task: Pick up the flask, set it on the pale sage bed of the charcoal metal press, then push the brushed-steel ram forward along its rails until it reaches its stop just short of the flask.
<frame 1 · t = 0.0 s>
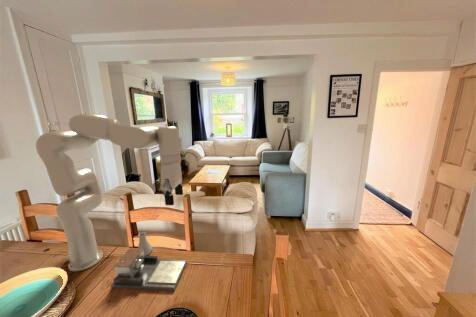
hand: (174, 199, 78), 31 cm above the table, tool pointing down, fingers open, 9 cm apart
press base: (151, 274, 80), on the table
flask: (144, 252, 94), on the table
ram: (132, 263, 79), point 5 cm above the table, slide at 0.0 cm
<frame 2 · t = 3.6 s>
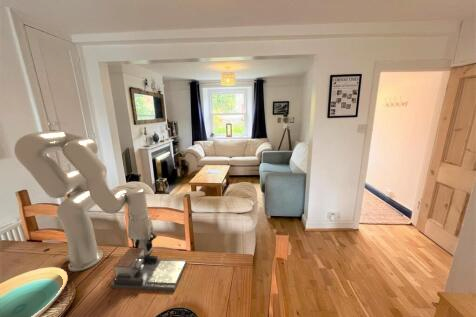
hand: (144, 248, 93), 2 cm above the table, tool pointing down, fingers closed on flask, 4 cm apart
flask: (144, 252, 93), on the table, touching gripper
everything else where it was.
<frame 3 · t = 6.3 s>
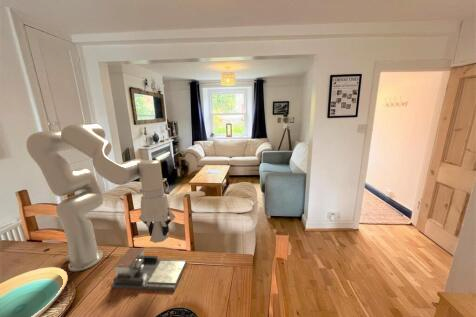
hand: (159, 233, 78), 18 cm above the table, tool pointing down, fingers closed on flask, 4 cm apart
flask: (159, 238, 79), point 16 cm above the table, touching gripper
everything else where it was.
when the fingers open (5 cm above the table, at t = 9.3 s): flask drops 1 cm, resting on press base.
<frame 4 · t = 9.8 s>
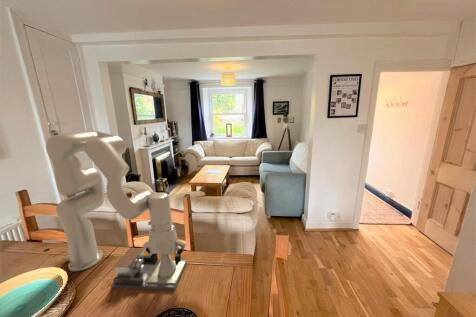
hand: (166, 262, 78), 6 cm above the table, tool pointing down, fingers open, 9 cm apart
flask: (167, 271, 79), point 2 cm above the table, touching press base
everything else where it was.
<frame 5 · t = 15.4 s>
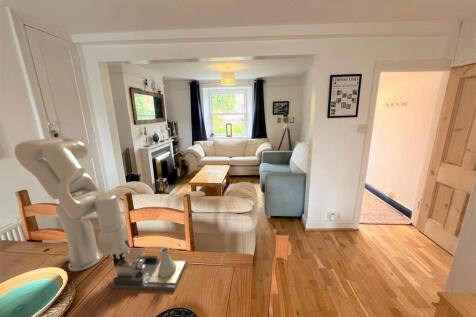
hand: (119, 264, 80), 4 cm above the table, tool pointing down, fingers closed
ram: (133, 263, 79), point 5 cm above the table, slide at 0.6 cm, touching gripper
everything else where it was.
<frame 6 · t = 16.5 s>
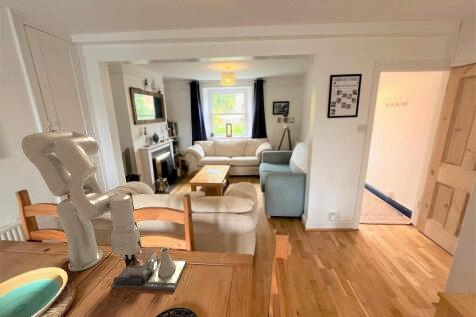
hand: (130, 265, 80), 4 cm above the table, tool pointing down, fingers closed
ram: (145, 263, 79), point 5 cm above the table, slide at 5.5 cm, touching gripper
everything else where it was.
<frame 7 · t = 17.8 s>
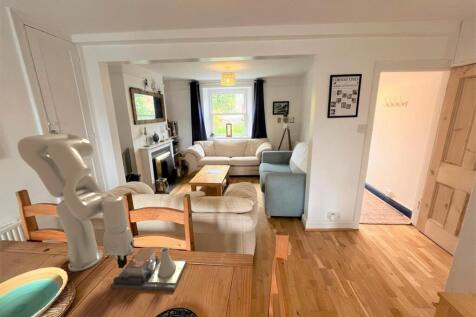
hand: (122, 265, 80), 4 cm above the table, tool pointing down, fingers closed
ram: (144, 263, 79), point 5 cm above the table, slide at 5.0 cm
everything else where it was.
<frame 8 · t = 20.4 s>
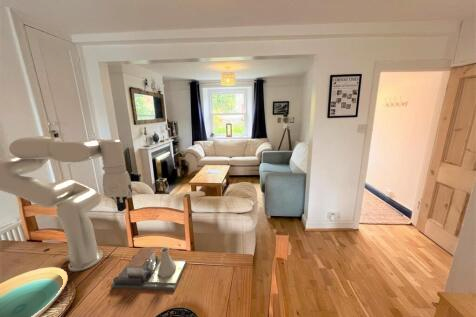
hand: (122, 209, 83), 25 cm above the table, tool pointing down, fingers closed
nothing on the table moved.
at the end: flask 0.2 cm from the target spot on the press base, point 1.8 cm above the press base's base; flask tilted 0°; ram slide at 5.0 cm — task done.
